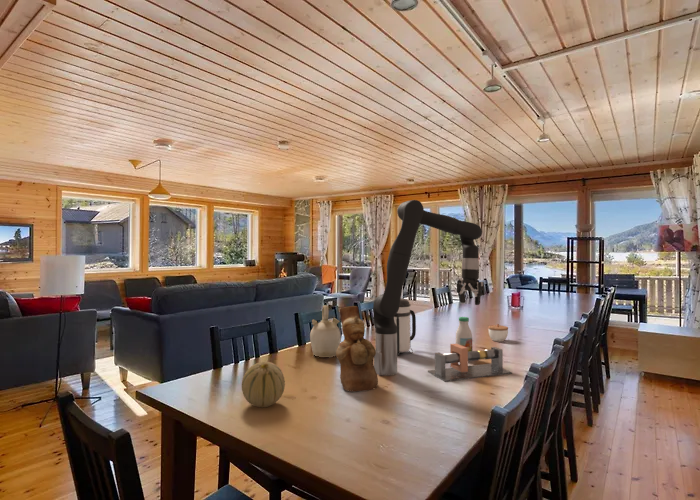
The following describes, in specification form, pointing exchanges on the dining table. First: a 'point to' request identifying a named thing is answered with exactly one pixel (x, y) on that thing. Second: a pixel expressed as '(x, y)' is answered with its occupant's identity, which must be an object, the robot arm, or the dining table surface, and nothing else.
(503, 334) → the lidded jar
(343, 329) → the ceramic vessel
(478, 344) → the dining table surface
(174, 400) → the dining table surface
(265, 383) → the cantaloupe
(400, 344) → the coffee press
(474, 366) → the rail
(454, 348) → the collar
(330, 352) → the jug
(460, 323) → the milk bottle
